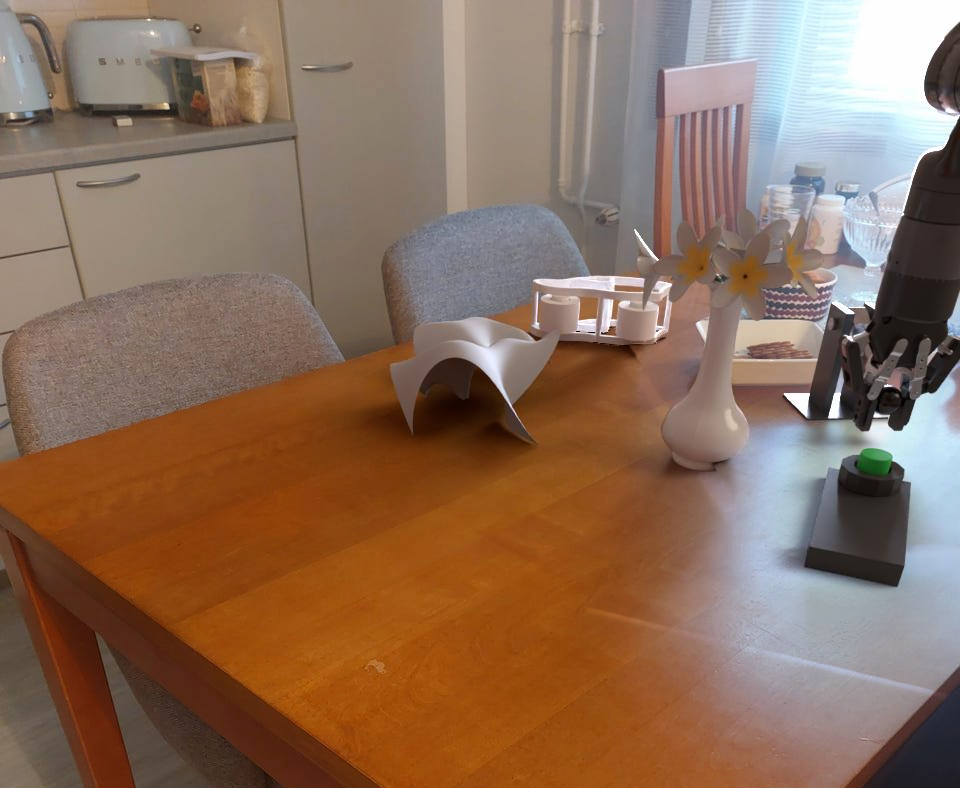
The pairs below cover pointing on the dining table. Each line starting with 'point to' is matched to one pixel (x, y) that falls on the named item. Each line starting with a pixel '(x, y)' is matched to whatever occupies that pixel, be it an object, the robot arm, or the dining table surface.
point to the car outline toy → (598, 310)
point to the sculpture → (472, 362)
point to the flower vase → (724, 321)
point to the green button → (874, 461)
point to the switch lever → (889, 394)
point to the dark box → (861, 524)
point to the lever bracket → (831, 373)
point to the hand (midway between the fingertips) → (878, 427)
